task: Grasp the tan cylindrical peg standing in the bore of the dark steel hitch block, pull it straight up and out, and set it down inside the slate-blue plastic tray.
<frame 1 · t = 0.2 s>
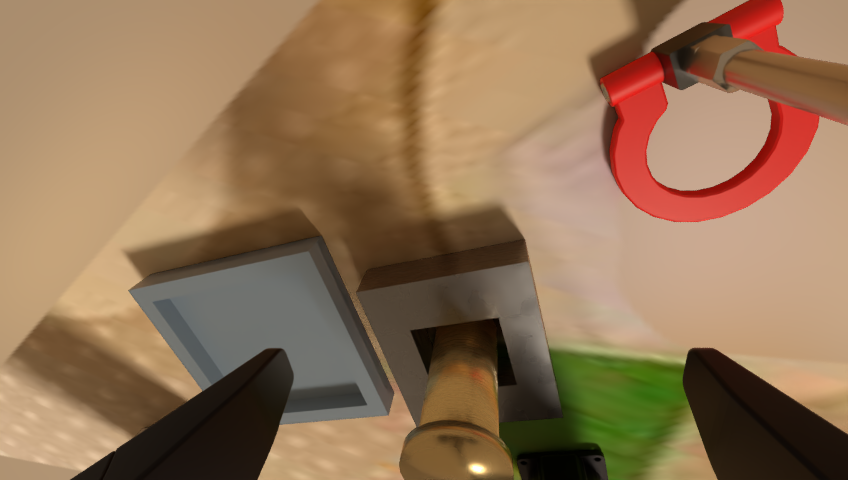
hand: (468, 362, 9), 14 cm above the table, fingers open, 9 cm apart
tray: (276, 335, 30), on the table
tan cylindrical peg: (462, 388, 22), in the hitch block
hitch block: (466, 331, 27), on the table
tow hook: (697, 127, 19), on the table
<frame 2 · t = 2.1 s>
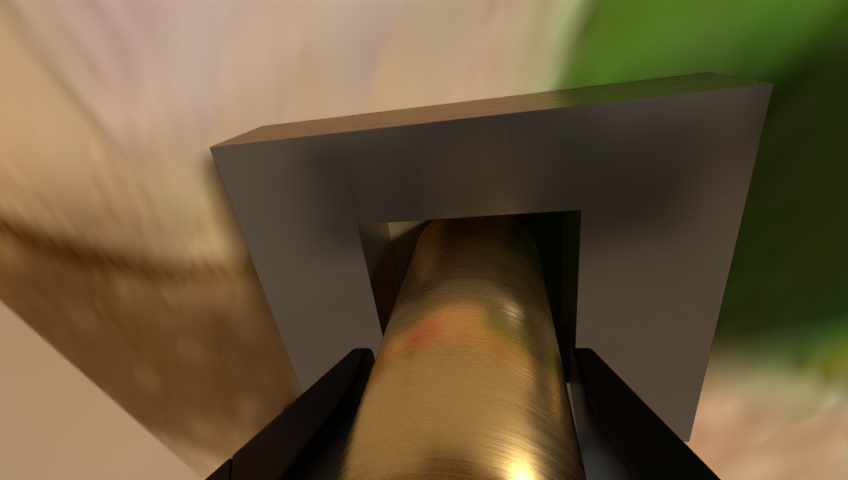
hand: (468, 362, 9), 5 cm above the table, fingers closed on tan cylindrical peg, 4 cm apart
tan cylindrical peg: (467, 374, 9), in the hitch block, touching gripper
hitch block: (475, 261, 13), on the table
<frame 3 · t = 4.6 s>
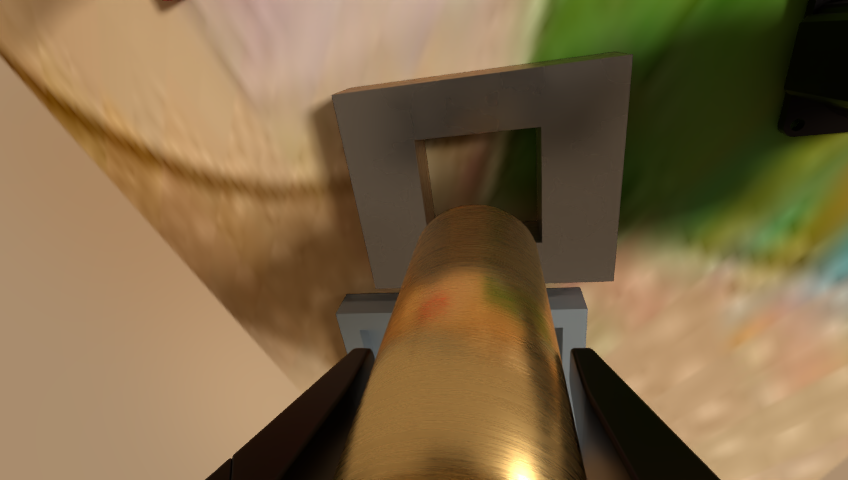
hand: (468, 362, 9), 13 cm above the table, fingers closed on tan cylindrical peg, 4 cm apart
tray: (467, 377, 27), on the table
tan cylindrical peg: (467, 374, 9), point 13 cm above the table, touching gripper
hitch block: (481, 176, 20), on the table
when the fingers open (7 cm above the table, at t = 6.9 s): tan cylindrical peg drops 2 cm, resting on tray.
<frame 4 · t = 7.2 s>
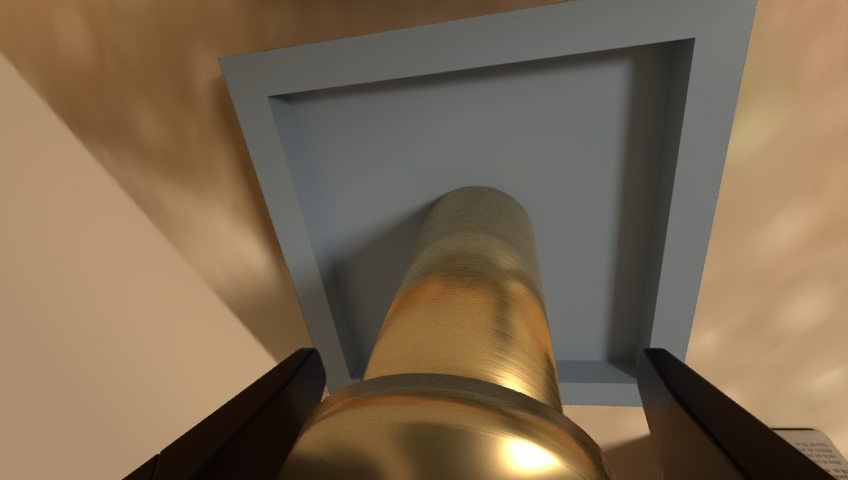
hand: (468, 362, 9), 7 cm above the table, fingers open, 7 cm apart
tray: (477, 229, 15), on the table
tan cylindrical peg: (466, 326, 10), in the tray, point 6 cm above the table
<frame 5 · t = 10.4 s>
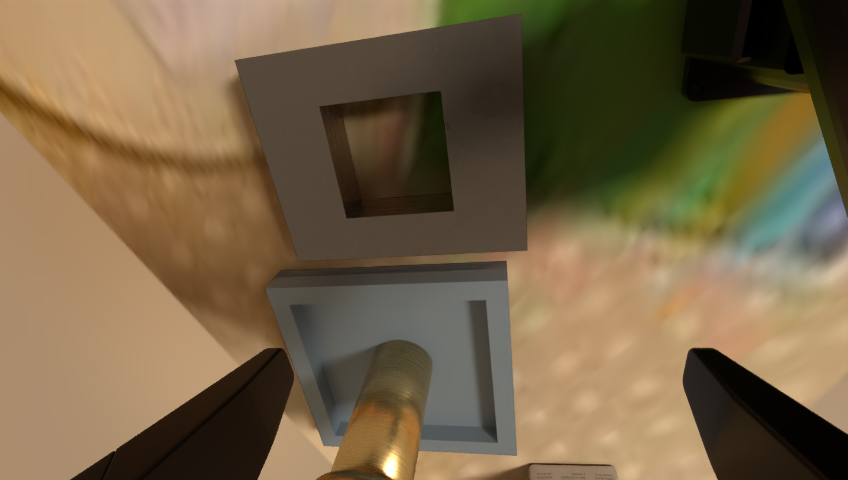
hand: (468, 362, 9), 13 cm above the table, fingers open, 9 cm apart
tray: (405, 355, 27), on the table
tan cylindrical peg: (385, 428, 22), in the tray, point 6 cm above the table
hitch block: (400, 146, 20), on the table
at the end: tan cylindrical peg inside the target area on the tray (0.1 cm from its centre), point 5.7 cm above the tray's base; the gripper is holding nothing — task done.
